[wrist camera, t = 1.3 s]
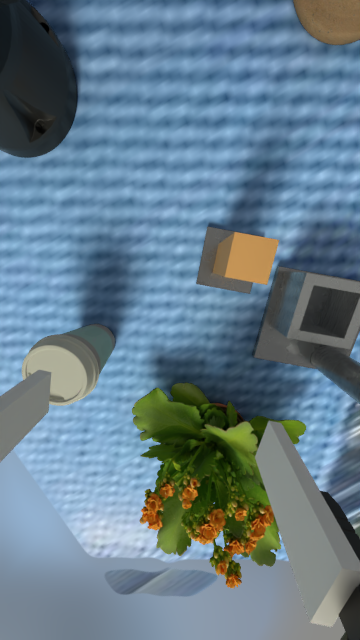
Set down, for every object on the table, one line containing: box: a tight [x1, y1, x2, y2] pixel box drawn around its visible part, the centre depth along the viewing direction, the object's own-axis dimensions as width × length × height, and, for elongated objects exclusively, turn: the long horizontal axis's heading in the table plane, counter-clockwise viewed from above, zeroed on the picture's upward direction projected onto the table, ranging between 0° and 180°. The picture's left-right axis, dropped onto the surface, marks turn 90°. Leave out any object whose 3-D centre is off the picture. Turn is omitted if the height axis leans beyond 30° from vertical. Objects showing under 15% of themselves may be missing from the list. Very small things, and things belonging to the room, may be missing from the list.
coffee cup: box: [22, 324, 115, 406], centre depth 31 cm, size 9×8×12 cm
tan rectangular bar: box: [213, 232, 279, 285], centre depth 26 cm, size 4×4×12 cm
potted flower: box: [132, 383, 306, 588], centre depth 31 cm, size 25×24×18 cm
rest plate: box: [196, 227, 261, 294], centre depth 32 cm, size 8×8×1 cm
